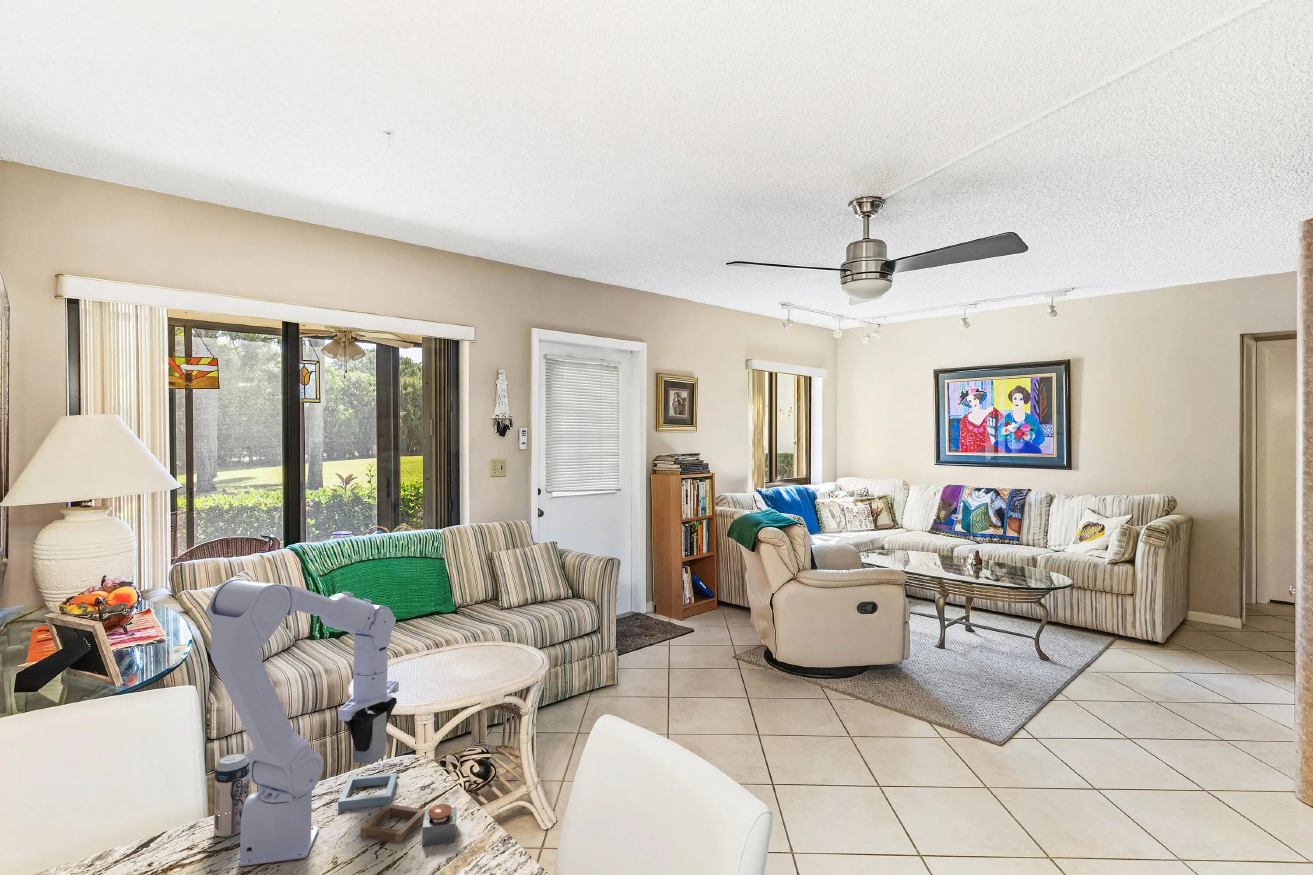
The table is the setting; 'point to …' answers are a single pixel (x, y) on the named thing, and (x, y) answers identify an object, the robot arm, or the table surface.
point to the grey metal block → (374, 740)
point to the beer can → (230, 793)
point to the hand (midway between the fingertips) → (369, 744)
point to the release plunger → (439, 813)
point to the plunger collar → (439, 830)
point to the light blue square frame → (371, 799)
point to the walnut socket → (388, 834)
